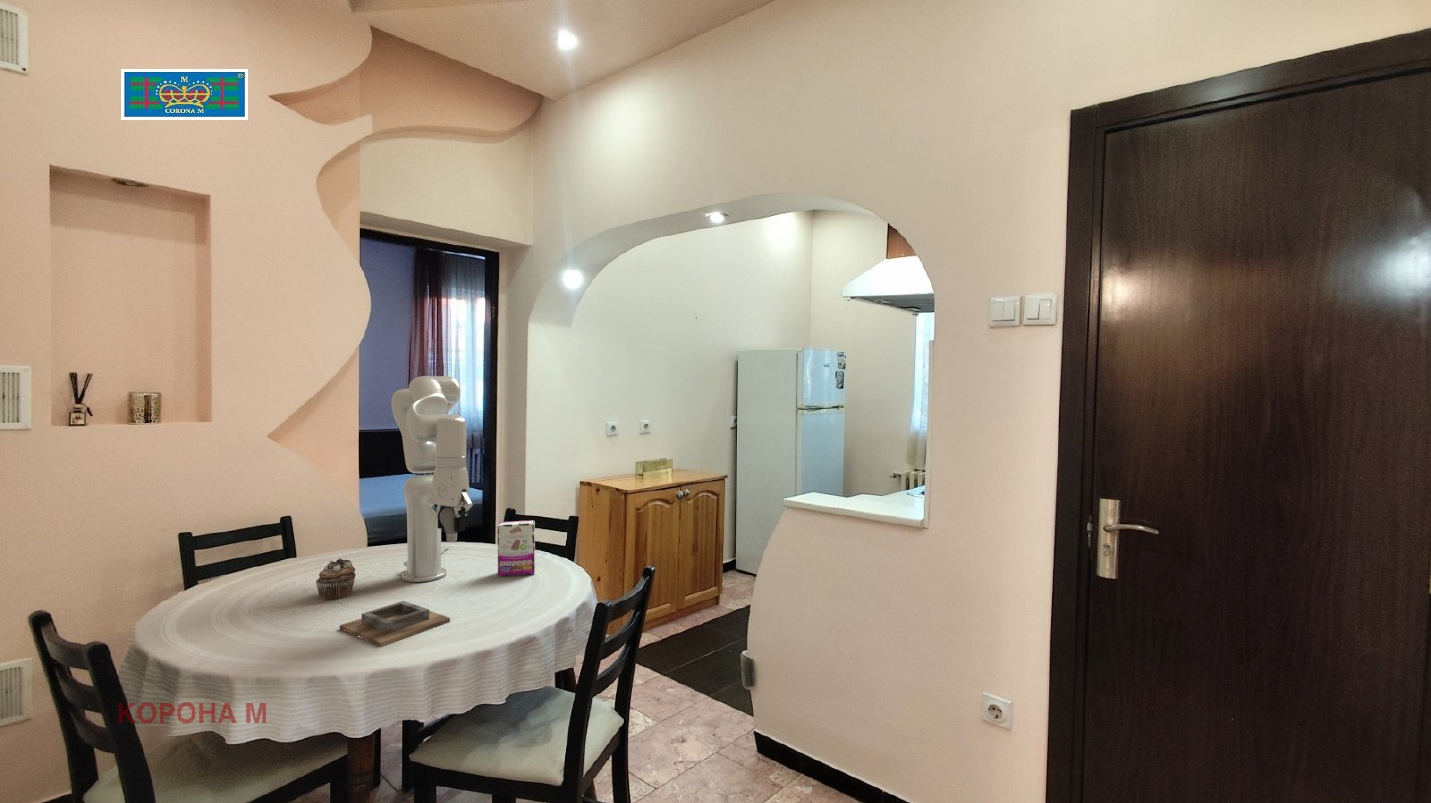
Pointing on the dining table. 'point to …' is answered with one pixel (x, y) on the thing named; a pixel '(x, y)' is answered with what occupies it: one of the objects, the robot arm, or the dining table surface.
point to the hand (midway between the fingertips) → (451, 528)
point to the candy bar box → (516, 548)
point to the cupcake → (336, 580)
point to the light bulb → (449, 523)
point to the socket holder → (394, 623)
